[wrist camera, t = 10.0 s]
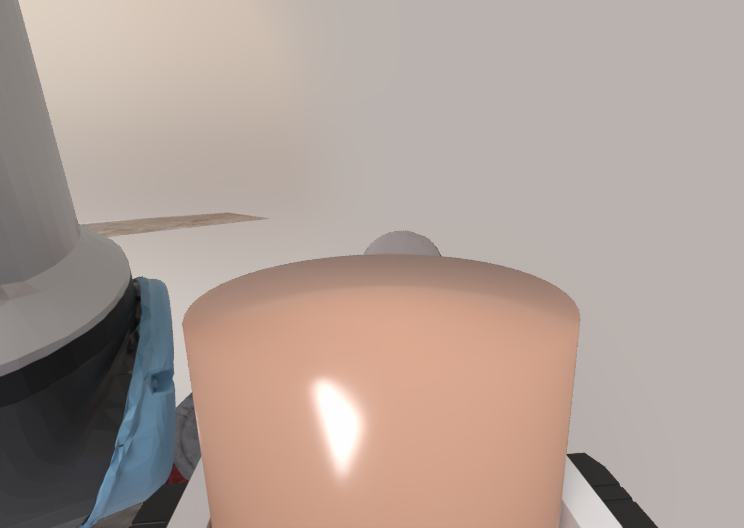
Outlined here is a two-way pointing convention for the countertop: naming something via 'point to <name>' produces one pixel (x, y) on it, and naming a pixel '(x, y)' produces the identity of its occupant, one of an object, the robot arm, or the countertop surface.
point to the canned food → (185, 443)
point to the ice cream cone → (402, 244)
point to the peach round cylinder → (383, 394)
